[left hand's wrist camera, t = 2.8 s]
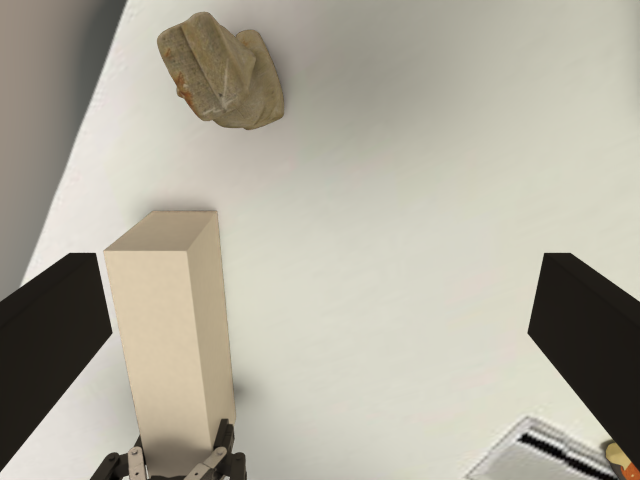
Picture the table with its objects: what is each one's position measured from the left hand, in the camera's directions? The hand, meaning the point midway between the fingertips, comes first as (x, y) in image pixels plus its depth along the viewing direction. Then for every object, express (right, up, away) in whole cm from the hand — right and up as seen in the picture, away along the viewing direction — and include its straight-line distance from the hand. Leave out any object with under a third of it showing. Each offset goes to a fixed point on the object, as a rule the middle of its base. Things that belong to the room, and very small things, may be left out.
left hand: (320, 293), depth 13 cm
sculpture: (-6, +15, +23) cm, 29 cm away
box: (-13, -7, +32) cm, 36 cm away
